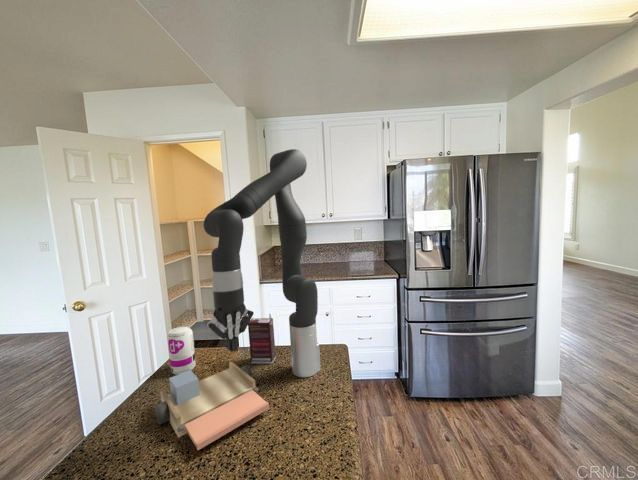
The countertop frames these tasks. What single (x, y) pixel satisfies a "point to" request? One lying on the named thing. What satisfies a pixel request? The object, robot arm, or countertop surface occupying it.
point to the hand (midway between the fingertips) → (233, 350)
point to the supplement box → (261, 340)
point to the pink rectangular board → (225, 418)
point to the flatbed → (205, 397)
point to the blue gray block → (184, 387)
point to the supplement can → (181, 350)
